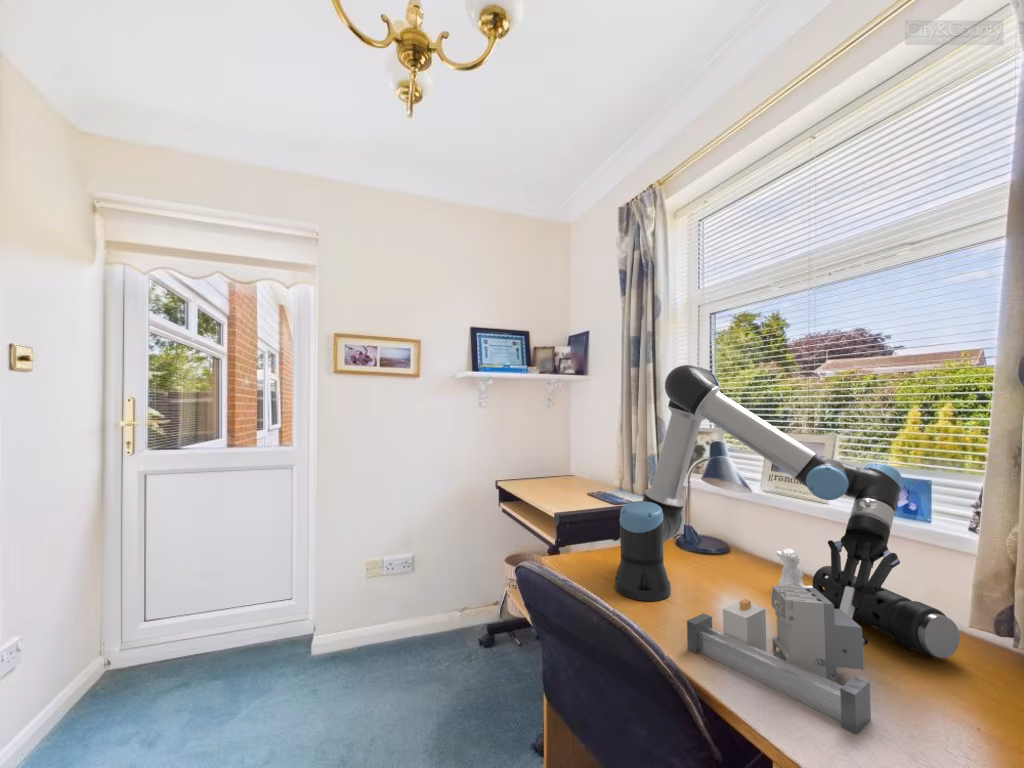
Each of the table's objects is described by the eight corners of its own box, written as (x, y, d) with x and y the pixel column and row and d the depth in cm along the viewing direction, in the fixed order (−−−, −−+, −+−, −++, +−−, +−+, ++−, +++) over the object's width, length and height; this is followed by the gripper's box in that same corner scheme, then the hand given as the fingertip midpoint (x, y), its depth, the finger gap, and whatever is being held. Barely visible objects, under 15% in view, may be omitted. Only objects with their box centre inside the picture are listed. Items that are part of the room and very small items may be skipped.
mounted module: (723, 652, 94) (722, 602, 95) (743, 642, 99) (741, 593, 99) (747, 664, 90) (746, 610, 91) (766, 652, 95) (765, 601, 95)
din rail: (687, 649, 96) (686, 620, 96) (704, 641, 99) (703, 613, 99) (856, 734, 71) (855, 694, 71) (870, 719, 74) (869, 681, 75)
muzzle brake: (845, 603, 118) (843, 563, 118) (965, 664, 90) (962, 611, 91) (811, 606, 117) (810, 565, 117) (923, 668, 89) (920, 614, 89)
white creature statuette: (821, 596, 122) (820, 551, 123) (801, 602, 118) (800, 556, 119) (787, 584, 131) (785, 542, 131) (767, 589, 127) (766, 546, 128)
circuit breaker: (875, 692, 81) (871, 607, 82) (787, 682, 84) (785, 600, 85) (852, 668, 89) (849, 590, 89) (773, 660, 92) (770, 585, 92)
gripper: (831, 508, 107) (802, 598, 97) (901, 518, 96) (878, 621, 86) (841, 527, 110) (815, 616, 99) (911, 539, 99) (889, 641, 89)
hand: (844, 618), depth 93 cm, fingers closed
